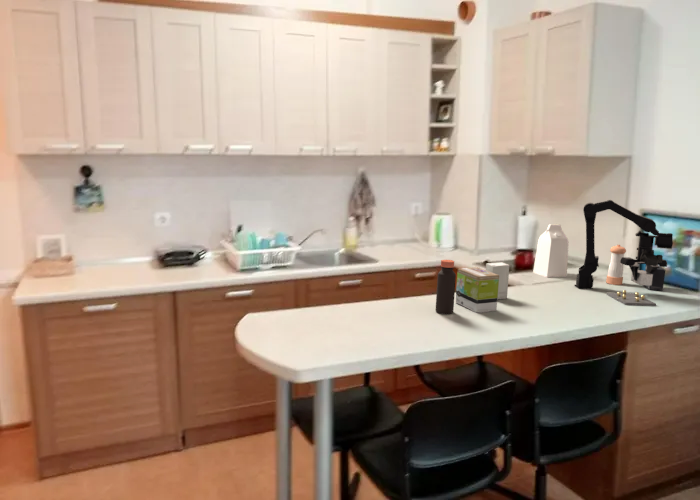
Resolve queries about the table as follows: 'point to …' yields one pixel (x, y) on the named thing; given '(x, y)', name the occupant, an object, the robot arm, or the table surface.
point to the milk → (552, 253)
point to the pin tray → (631, 298)
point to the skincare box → (500, 277)
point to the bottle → (445, 288)
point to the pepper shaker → (616, 266)
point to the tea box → (477, 289)
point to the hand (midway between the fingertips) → (641, 280)
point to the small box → (657, 279)
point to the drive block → (643, 278)
